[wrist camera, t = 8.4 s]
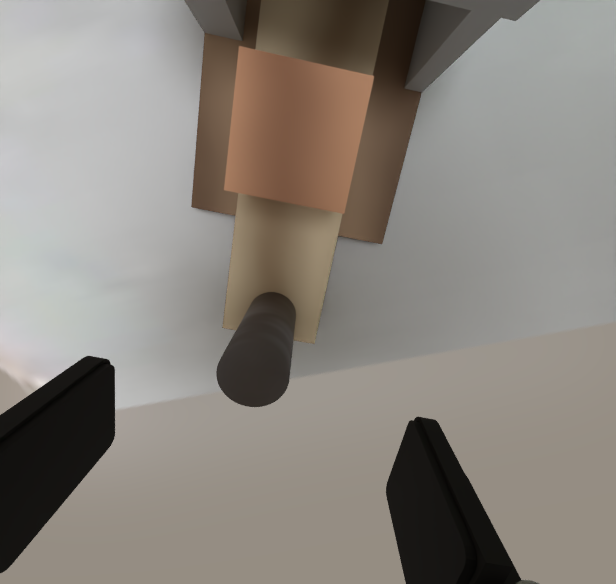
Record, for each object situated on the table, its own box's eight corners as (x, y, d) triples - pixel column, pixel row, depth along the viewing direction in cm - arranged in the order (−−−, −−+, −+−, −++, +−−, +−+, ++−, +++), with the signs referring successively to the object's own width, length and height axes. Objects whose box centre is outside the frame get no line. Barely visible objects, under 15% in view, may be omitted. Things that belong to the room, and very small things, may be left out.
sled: (403, -78, 15) (508, -384, 7) (314, 337, 21) (317, 417, 13) (278, -110, 14) (243, -466, 7) (226, 321, 21) (177, 395, 13)
